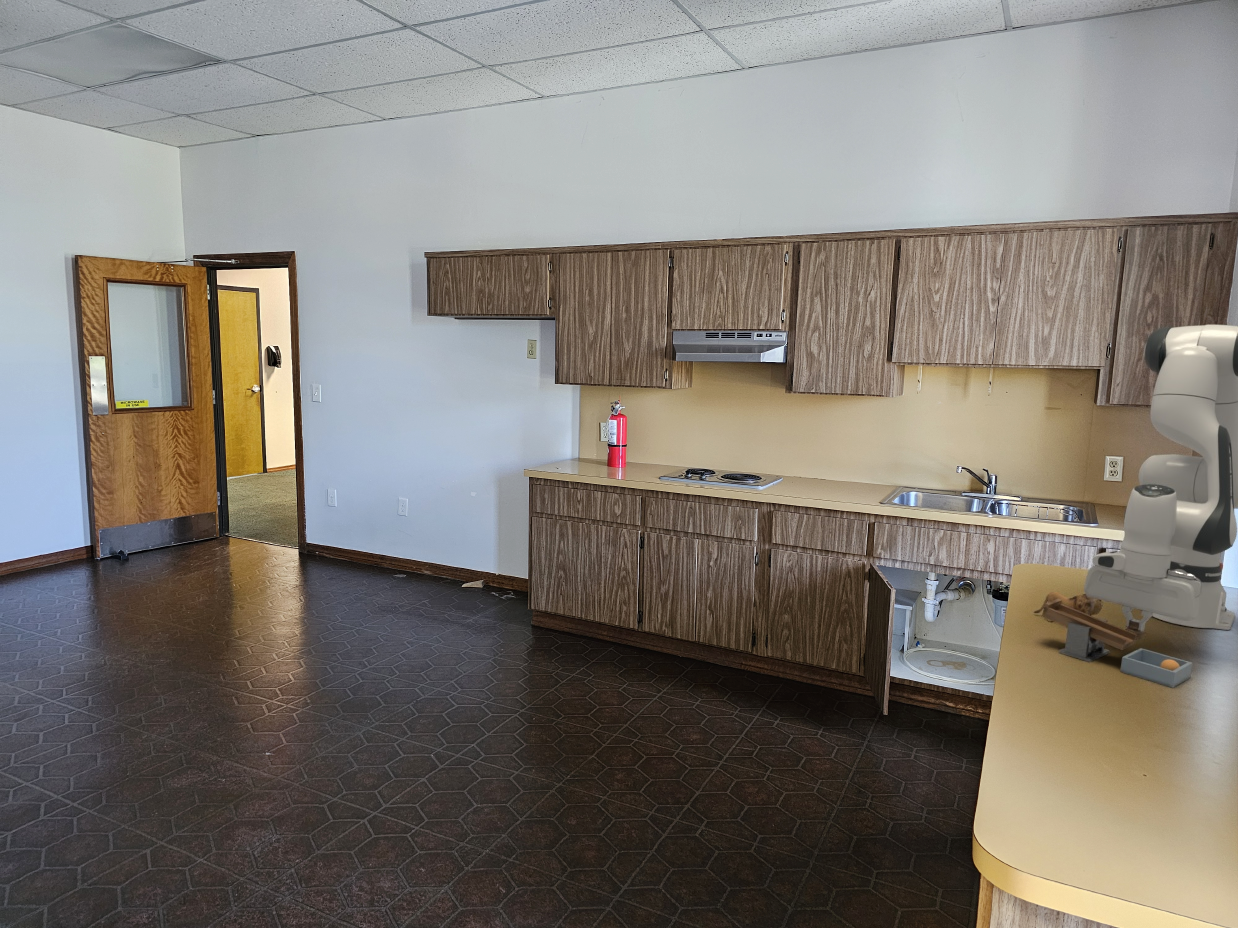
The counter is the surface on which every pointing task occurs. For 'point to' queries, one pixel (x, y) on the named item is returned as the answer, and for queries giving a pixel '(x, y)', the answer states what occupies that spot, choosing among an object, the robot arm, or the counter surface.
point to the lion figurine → (1076, 603)
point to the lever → (1092, 625)
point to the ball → (1169, 664)
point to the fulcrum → (1083, 643)
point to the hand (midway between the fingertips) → (1134, 628)
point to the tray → (1155, 667)
